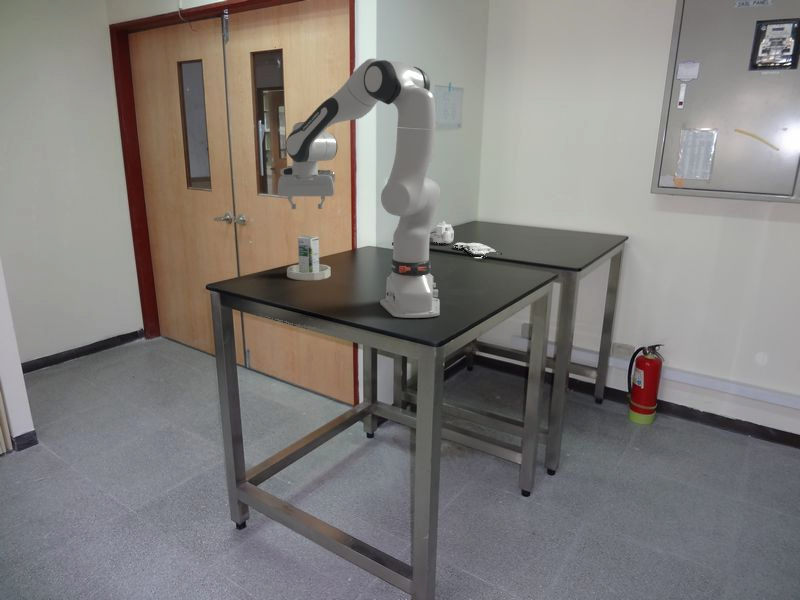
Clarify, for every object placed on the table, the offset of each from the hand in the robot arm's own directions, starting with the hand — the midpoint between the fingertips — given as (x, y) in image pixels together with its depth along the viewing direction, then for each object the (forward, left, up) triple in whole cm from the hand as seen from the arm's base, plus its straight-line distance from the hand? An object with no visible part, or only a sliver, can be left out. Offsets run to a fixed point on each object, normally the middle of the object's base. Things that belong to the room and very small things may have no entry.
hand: (307, 209), depth 197 cm
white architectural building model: (+41, -77, -26) cm, 91 cm away
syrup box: (0, 0, -25) cm, 25 cm away
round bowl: (0, 0, -25) cm, 25 cm away
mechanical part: (+63, -63, -25) cm, 93 cm away
